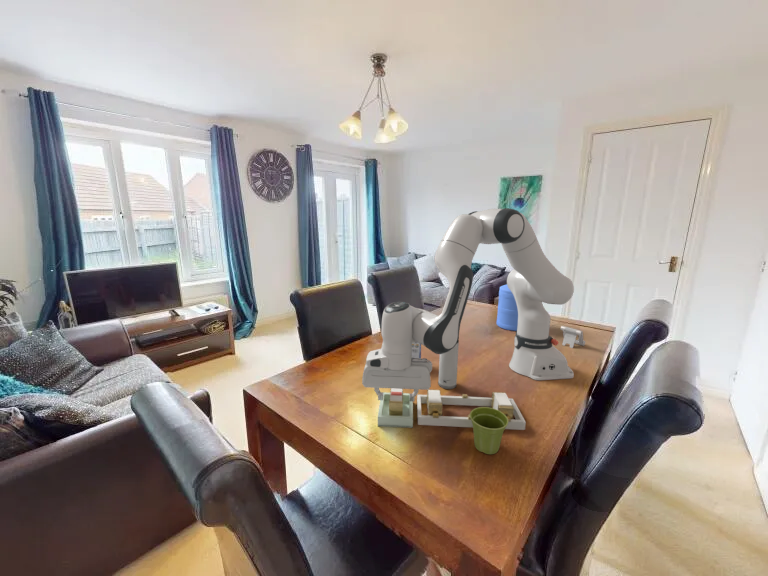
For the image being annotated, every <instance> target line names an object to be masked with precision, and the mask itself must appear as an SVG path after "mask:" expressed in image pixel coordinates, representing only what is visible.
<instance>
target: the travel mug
mask: <svg viewBox="0 0 768 576" xmlns="http://www.w3.org/2000/svg"><path fill="white" fill-rule="evenodd" d="M459 338H460V336H459V337H458V341H457V343H456V345H455V346H454V348H452V349H451V350H450V351H448V352H446V353H443V354H439V360H438V361H439V364H438V382H437V385H438V386H439V387H441V388H442V389H445V390H452V389H455V388H456V387H457V379H458V363H459V361H458V360H459V345H460V343H459V342H460V341H459Z"/></svg>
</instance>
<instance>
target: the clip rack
mask: <svg viewBox="0 0 768 576" xmlns="http://www.w3.org/2000/svg"><path fill="white" fill-rule="evenodd" d="M416 396H417V397H416V405H417V406H416V408H417V409H416V410H417V413H416V414H417V425H418V426H436V427H437V426H438V427H441V426H442V427H454V428H455V427H457V428H458V427H459V428H473V424H472V420H471V419H470V414H467V416H452V415H451V416H447V415H446V416H445V415H442V416H439V415H438V413H433V416H430V415H428V414H427V415H424V414H422V404H425V405H427V394H417V395H416ZM440 396H441V402H442V405H450V406H453V405H454V406H469V407H470V406H473V407H489V408H491V402H492V397H485V396H484V397H483V396H482V397H481V396H469V395H468V394H465V393H461V395H459V396H458V395H457V396H456V395H440ZM508 399H509V400H510V402H511V404H512V406H513V408H514V411H513V417H514V418H515V419H514V418H513V419H510V417H508V416H506V417H507V418H508V425H507V426H506V427H505V430H515V431H516V430H517V431H519V430H520V431H524V430H526V420H525V418H524V416H523V414H522V413H521V411H520V409H519V408H518V405H517V403H516V402H515V400H514V398H509V397H508Z"/></svg>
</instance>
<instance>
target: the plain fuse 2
mask: <svg viewBox="0 0 768 576" xmlns="http://www.w3.org/2000/svg"><path fill="white" fill-rule="evenodd" d="M491 398H492V402H491V407H490V408H493V409H496V410H499V411H501V412H502V413H503V414H505V416H508V417H510V419H514V415H513V411H514V408H513V406H512V404H511V402H510V400H509V399H508V398H509V397H508V395H507V393H506V392H503V391H502V392H501V391H492V392H491Z"/></svg>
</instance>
